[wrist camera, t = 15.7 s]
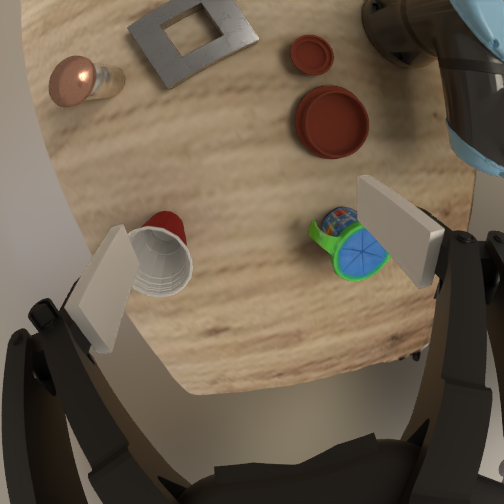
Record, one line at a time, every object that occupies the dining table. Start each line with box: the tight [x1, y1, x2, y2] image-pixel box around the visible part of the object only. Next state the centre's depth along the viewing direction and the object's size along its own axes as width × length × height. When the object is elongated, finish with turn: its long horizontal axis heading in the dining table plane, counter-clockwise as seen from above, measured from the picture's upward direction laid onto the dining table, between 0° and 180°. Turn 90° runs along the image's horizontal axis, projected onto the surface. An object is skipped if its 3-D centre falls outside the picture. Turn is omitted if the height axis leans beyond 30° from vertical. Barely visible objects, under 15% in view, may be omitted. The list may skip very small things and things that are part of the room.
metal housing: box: [127, 0, 260, 89], centre depth 28 cm, size 14×12×3 cm
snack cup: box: [308, 207, 391, 281], centre depth 45 cm, size 16×11×10 cm
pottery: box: [290, 35, 369, 159], centre depth 35 cm, size 12×20×4 cm, turn 20°
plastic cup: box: [127, 211, 193, 298], centre depth 40 cm, size 11×11×12 cm
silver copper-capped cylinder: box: [49, 56, 125, 107], centre depth 26 cm, size 6×6×13 cm
